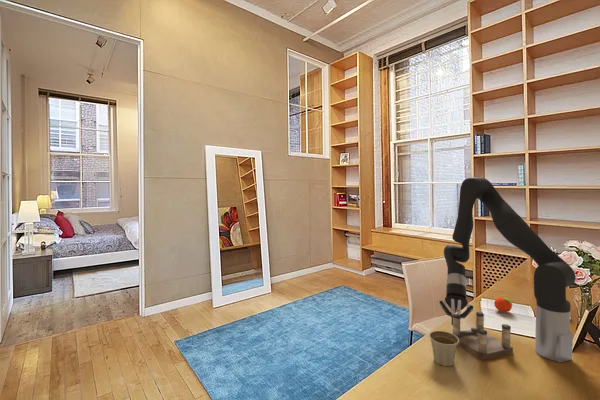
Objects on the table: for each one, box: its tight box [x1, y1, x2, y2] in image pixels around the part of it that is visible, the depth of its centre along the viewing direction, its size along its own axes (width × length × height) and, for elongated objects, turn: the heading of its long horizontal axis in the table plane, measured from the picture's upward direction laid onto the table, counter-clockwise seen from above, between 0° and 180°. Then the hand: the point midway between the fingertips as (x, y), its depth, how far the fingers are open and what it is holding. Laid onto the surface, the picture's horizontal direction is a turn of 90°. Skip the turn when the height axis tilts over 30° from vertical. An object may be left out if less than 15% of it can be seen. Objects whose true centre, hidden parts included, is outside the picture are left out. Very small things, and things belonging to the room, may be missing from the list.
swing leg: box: [452, 313, 477, 336], centre depth 118 cm, size 10×3×8 cm, turn 102°
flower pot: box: [428, 330, 459, 367], centre depth 104 cm, size 9×9×9 cm
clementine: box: [493, 296, 513, 313], centre depth 141 cm, size 8×7×7 cm
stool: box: [457, 311, 514, 361], centre depth 113 cm, size 14×14×10 cm
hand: (455, 326), depth 119 cm, fingers closed
